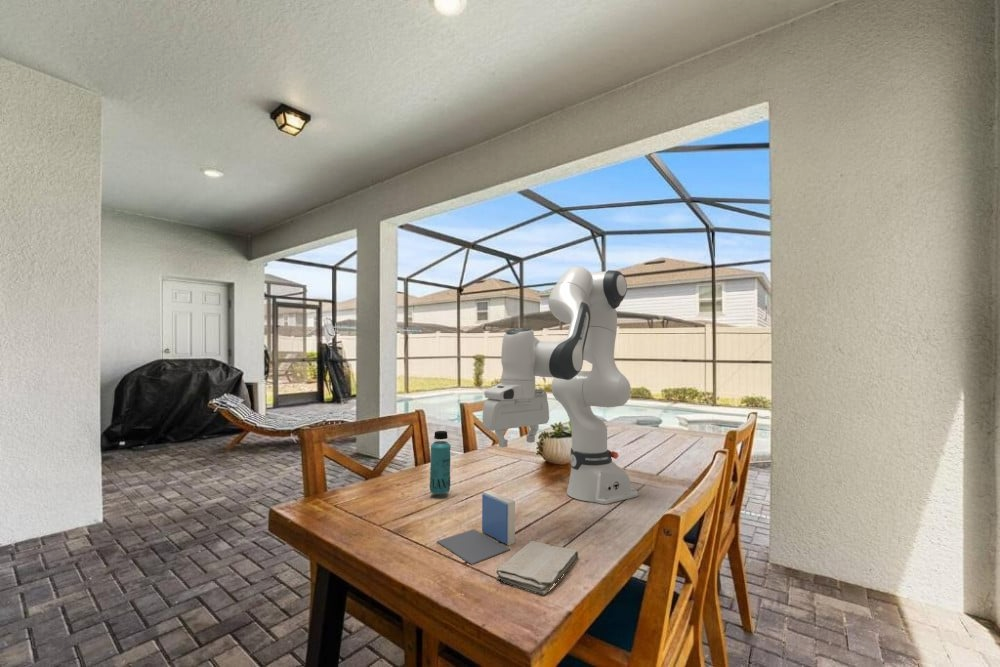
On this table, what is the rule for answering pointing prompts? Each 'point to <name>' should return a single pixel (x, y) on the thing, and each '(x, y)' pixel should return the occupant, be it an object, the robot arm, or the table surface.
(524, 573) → the washcloth
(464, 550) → the mat
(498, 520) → the tile
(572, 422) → the robot arm
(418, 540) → the table surface
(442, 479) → the beverage bottle
